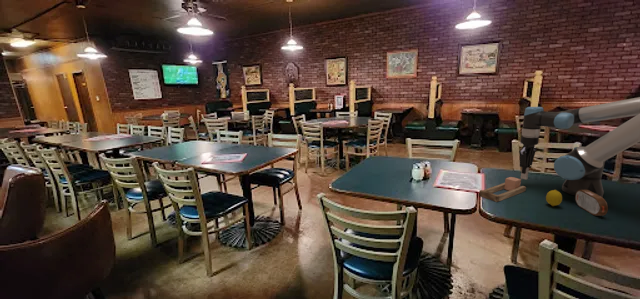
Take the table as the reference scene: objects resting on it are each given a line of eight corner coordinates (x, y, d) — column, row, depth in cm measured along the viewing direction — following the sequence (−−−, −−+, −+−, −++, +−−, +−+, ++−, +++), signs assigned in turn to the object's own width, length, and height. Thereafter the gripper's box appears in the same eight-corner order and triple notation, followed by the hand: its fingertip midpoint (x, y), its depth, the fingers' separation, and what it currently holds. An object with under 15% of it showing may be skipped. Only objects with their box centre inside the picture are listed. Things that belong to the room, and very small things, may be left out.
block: (519, 190, 141) (521, 179, 140) (514, 192, 139) (515, 181, 138) (509, 187, 146) (510, 176, 144) (504, 189, 144) (505, 178, 142)
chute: (525, 191, 140) (526, 185, 140) (497, 202, 129) (497, 196, 129) (507, 186, 148) (507, 180, 147) (478, 195, 137) (479, 190, 137)
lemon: (557, 209, 119) (559, 193, 117) (542, 205, 124) (544, 189, 122) (563, 206, 122) (565, 190, 120) (548, 202, 127) (551, 186, 125)
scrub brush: (606, 219, 110) (610, 200, 108) (597, 219, 110) (601, 200, 109) (580, 203, 124) (583, 186, 122) (572, 203, 125) (575, 186, 123)
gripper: (528, 134, 147) (522, 174, 153) (515, 136, 141) (509, 178, 147) (544, 135, 140) (538, 178, 146) (531, 139, 135) (525, 183, 140)
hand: (523, 178), depth 146 cm, fingers closed
